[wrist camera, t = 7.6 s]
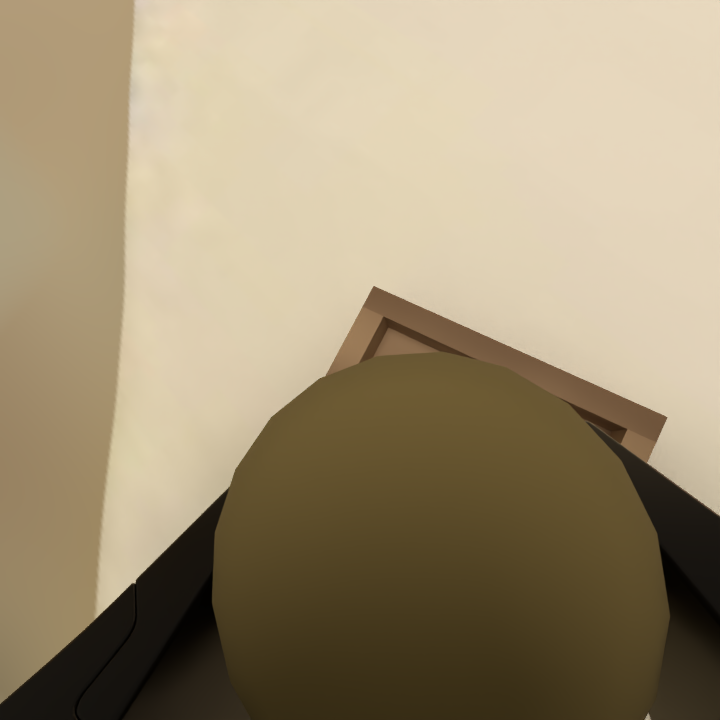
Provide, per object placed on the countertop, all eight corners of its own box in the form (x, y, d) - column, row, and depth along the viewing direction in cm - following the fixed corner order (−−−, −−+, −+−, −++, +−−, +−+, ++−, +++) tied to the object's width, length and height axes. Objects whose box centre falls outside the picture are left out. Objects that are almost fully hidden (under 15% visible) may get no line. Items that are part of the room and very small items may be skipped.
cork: (314, 459, 16) (42, 455, 5) (470, 371, 15) (521, 174, 5) (401, 637, 14) (264, 1174, 3) (578, 543, 14) (1018, 818, 3)
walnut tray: (512, 700, 18) (522, 739, 15) (259, 535, 21) (234, 546, 18) (639, 422, 19) (667, 417, 16) (381, 304, 22) (373, 285, 19)
